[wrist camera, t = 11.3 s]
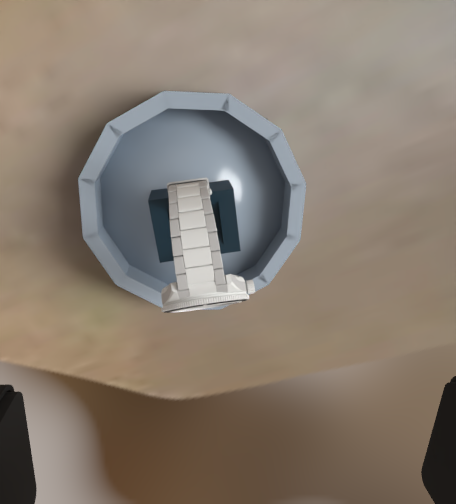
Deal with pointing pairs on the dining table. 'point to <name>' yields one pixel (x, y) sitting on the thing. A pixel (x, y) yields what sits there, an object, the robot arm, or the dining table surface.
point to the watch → (197, 243)
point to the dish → (185, 168)
